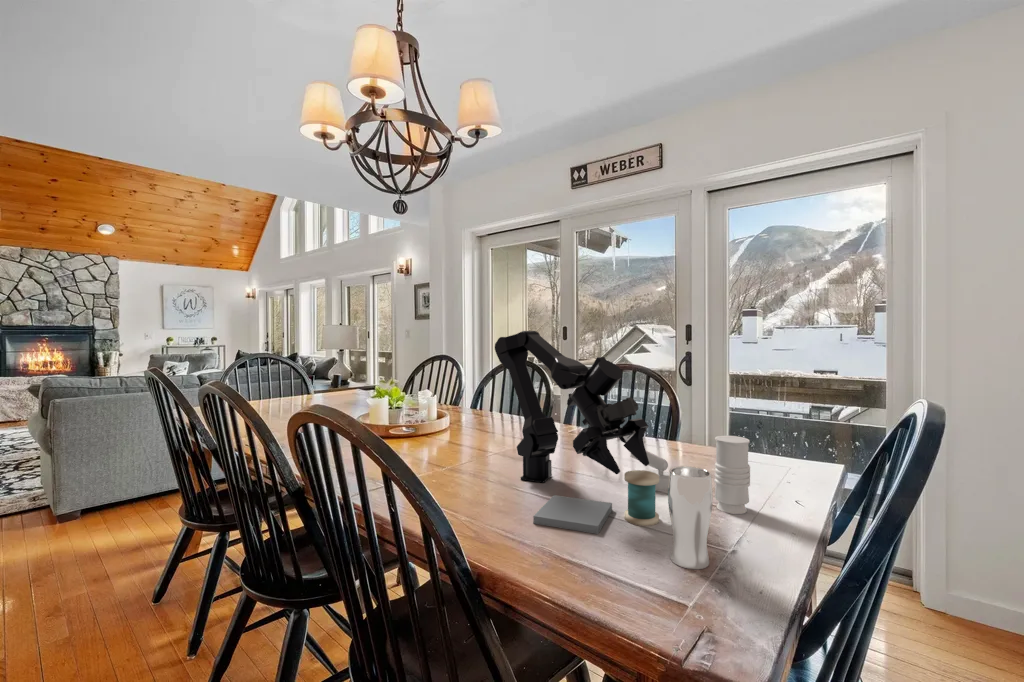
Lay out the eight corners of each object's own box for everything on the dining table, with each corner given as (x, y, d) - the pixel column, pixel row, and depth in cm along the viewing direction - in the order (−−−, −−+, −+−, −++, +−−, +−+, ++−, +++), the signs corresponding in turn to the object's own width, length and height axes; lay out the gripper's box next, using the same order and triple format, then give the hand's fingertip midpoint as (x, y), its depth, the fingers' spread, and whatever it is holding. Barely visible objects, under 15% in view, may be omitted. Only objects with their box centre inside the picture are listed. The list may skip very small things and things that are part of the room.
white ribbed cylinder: (754, 515, 101) (754, 443, 100) (718, 513, 102) (718, 442, 101) (744, 503, 107) (745, 436, 107) (711, 502, 109) (711, 434, 108)
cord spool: (621, 522, 97) (621, 478, 97) (627, 510, 104) (627, 468, 103) (656, 528, 95) (657, 482, 95) (660, 515, 101) (660, 472, 101)
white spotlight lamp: (629, 441, 126) (670, 443, 124) (629, 478, 126) (670, 480, 124) (631, 449, 117) (674, 451, 115) (630, 489, 118) (674, 491, 116)
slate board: (533, 523, 97) (533, 515, 97) (553, 501, 109) (553, 495, 109) (598, 534, 92) (598, 526, 92) (612, 510, 104) (612, 503, 104)
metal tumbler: (661, 552, 85) (661, 466, 84) (699, 550, 85) (700, 465, 85) (678, 572, 78) (678, 478, 77) (720, 570, 78) (720, 477, 78)
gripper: (582, 389, 99) (625, 454, 90) (641, 382, 110) (684, 439, 102) (556, 422, 105) (594, 485, 97) (614, 412, 117) (653, 468, 108)
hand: (633, 468), depth 101 cm, fingers open, 9 cm apart
